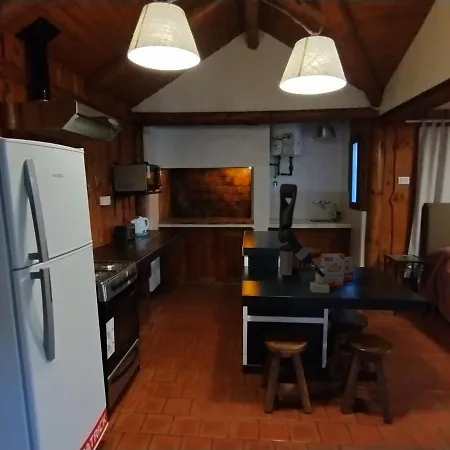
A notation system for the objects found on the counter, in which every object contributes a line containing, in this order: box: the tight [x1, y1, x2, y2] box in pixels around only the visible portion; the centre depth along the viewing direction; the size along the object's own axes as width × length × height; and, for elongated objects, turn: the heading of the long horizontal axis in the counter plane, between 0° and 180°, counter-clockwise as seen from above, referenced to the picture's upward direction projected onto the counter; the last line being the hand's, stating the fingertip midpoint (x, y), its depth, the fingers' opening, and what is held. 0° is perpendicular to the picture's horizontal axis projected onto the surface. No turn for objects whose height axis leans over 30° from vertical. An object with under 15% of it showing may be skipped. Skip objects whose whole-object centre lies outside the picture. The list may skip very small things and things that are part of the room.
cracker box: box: [320, 252, 346, 288], centre depth 249 cm, size 14×6×21 cm, turn 101°
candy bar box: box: [343, 256, 355, 283], centre depth 262 cm, size 11×5×16 cm, turn 112°
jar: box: [314, 264, 325, 283], centre depth 238 cm, size 5×5×10 cm
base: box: [309, 281, 330, 294], centre depth 239 cm, size 10×10×4 cm
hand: (322, 275), depth 238 cm, fingers closed on jar, 5 cm apart
